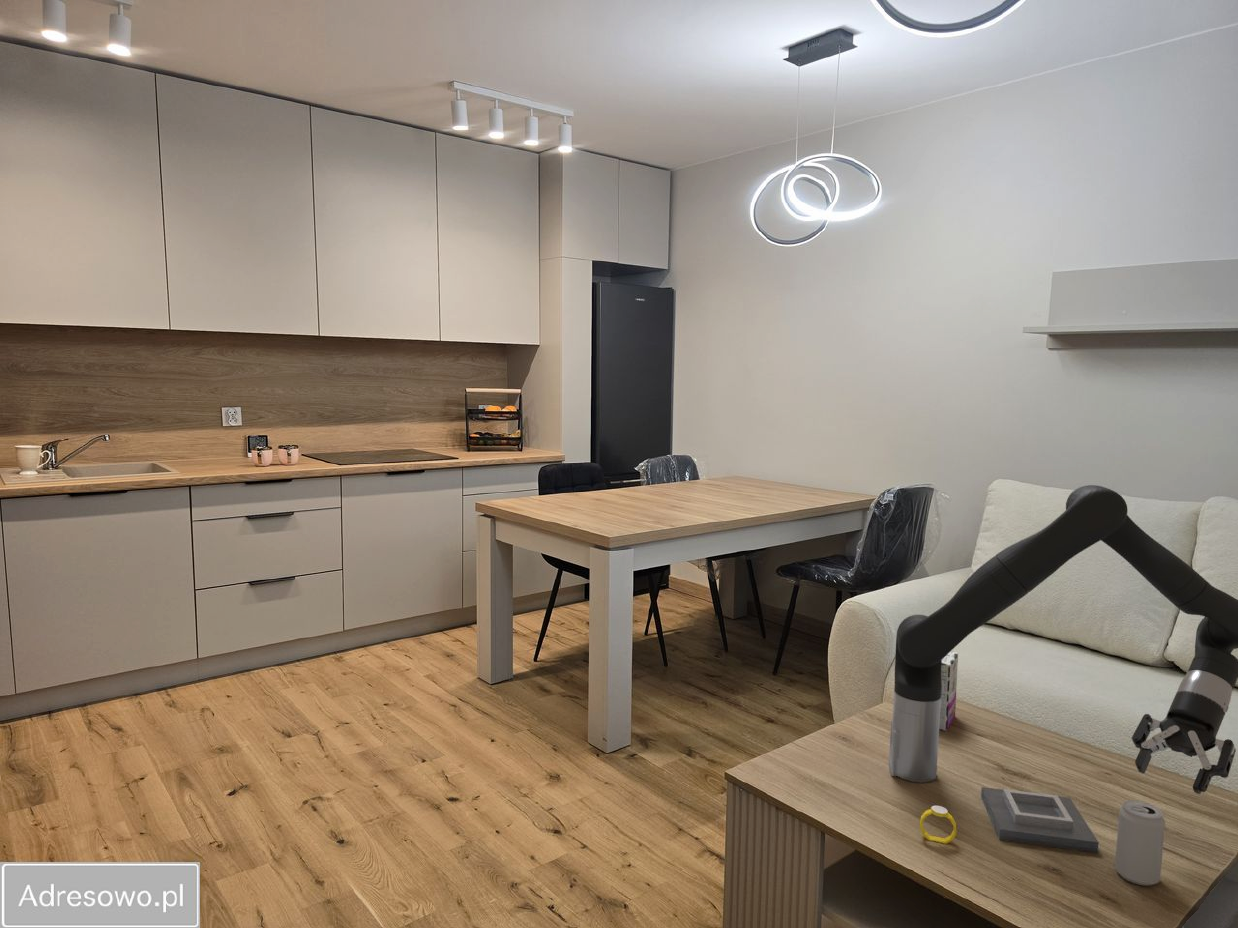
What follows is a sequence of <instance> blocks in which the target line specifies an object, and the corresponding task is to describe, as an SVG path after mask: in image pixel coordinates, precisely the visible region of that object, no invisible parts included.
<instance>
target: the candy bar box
mask: <svg viewBox="0 0 1238 928" xmlns="http://www.w3.org/2000/svg"><path fill="white" fill-rule="evenodd" d="M958 660H959V652H957V651H953V650H951V651H950V652H949V653H948V654H947V655H946V656H945V657H944V658H943V659H942V665H941V679H942V692H941V708H940V724H939V731H945V732H947V731H948V730H949V728H950V726H951V724H952V722H953V721H954V718H955V716H956V708H957V707H956V706H957V705H956V703H957V688H958V687H957V682H958V663H959V661H958Z"/></svg>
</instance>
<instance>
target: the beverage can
mask: <svg viewBox="0 0 1238 928" xmlns="http://www.w3.org/2000/svg"><path fill="white" fill-rule="evenodd" d="M1163 816H1164V814H1163V811H1162V810H1161V809H1159V808H1158V807H1157V806H1154V805H1153V804H1150V803H1147V802H1143V801H1141V800H1140V801H1138V800H1124V801H1123V802H1122V806H1121V807H1120V809H1119V811H1118V820H1117V821H1118V824H1117V836H1116V837H1117V838H1116V847H1115V848H1116V850H1115V863H1114V867H1115V871H1116V872H1118V874H1119V875H1120V877H1122V878H1123V879H1124V880H1126V881H1127V882H1131V883H1132V884H1136V885H1139V886H1143V887H1145V886H1146V887H1147V886H1148V887H1150V886H1153V885H1156V884H1159V883H1160V881H1161V877H1162V876H1161V874H1162V864H1163V863H1162V860H1163V851H1164V841H1165V839H1164V837H1165V826H1166V821H1165V819H1164V817H1163Z"/></svg>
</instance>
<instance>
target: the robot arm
mask: <svg viewBox="0 0 1238 928" xmlns="http://www.w3.org/2000/svg"><path fill="white" fill-rule="evenodd" d="M1128 509H1129V508H1128V505H1127V502H1126V500H1125V499H1124V498H1123V496H1122V495H1121V494H1119V493H1118V492H1117V491H1115V490H1113V489H1111V488H1108V487H1104V486H1101V485H1096V484H1095V485H1093V484H1091V485H1090V484H1089V485H1083V486H1079V487H1078V488H1076V489H1074V490H1073V491H1071V493H1070V494H1069V495H1068V497H1067V499H1066V502H1065V510H1064V511H1063V512H1062V513H1061V514H1060V515H1059V516H1057V518H1056V519H1054V520H1053V521H1052V522H1051V523H1049V524H1048V525H1047V526H1045V527H1044V528H1042V529H1041V530H1039V531H1037V532H1035V533H1034V534H1032V535H1030V536H1028V537H1026V538H1022V539H1021V540H1019V541H1017V542H1015V543H1013V544H1011V545H1009V546H1007V547H1006V548H1004V549H1002V550H1001V551H1000V552H998V553H996V554H995V555H994V556H992V557H991V558H990V559H988V560H987V561H986V562H985V563H983V564H982V565H981V566H979V567H978V568H977V569H976V570H975V571H974V572H972V573H971V575H970V576H969V577H968V578H967V580H965V582H964V583H963V584H962V585H961V586H960V588H959V589H958V590H957V591H956V592H955V594H954V595H953V596H952V597H951V598H950V599H949V600H948V601H947V602H946V603H945V604H944V605H943V606H941V607H940V608H939V609H937V610H936V611H934V612H933V613H931V614H929V616H928V615H924V614H912V615H909V616H907V617H905V618H904V619H903V620H902V621H901V623H899V625H898V627H897V630H896V636H895V637H896V639H895V657H894V658H895V659H894V686H893V687H894V689H893V690H894V691H893V705H892V706H893V707H892V708H893V710H892V721H890V737H889V756H888V766H889V770H890V775H891V777H896V776H898V777H897V778H899V777H900V779H902V780H905V781H908V782H913V783H930V782H933V781H934V780H936V778H937V771H938V757H939V738H940V736H939V735H940V730H939V724H940V708H941V692H942V679H941V665H942V659H943V658H944V657H945V656H946V655H947V654H948V653H949V652H950V651H953V650H954V649H955V648H956V647H957V646H958V645H959V644H960V643H961V642H962V641H963V640H965V639H967V637H968V636H969V635H971V633H973V632H975V631H976V630H977V629H979V628H981V627H982V626H983V625H985V624H986V623H988V622H990V621H991V620H992V619H994V618H995V617H997V616H998V615H999V614H1001V613H1002V612H1003V611H1005V610H1006V609H1008V608H1009V607H1010V606H1013V604H1015V603H1018V601H1019V600H1021V599H1022V598H1023V597H1025V596H1026V595H1027V594H1029V593H1030V592H1032V591H1033V590H1034V589H1035V588H1037V587H1038V586H1039V585H1040V584H1042V583H1043V582H1044V581H1046V579H1048V578H1049V577H1051V576H1052V575H1053V574H1055V573H1056V572H1057V570H1059V569H1060V568H1061V567H1062V566H1063V565H1065V564H1066V563H1067V562H1068V561H1070V560H1071V559H1072V558H1074V557H1076V556H1077V555H1078V554H1080V553H1082V552H1083V551H1085V550H1086V549H1088V548H1090V547H1091V546H1093V545H1096V544H1097V543H1099V542H1100V541H1101V542H1103V543H1104V544H1105V545H1107V546H1108V547H1109V548H1111V549H1112V550H1113V551H1115V552H1116V553H1117V554H1118V555H1119V556H1121V557H1122V558H1123V559H1124V560H1125V561H1126V562H1128V564H1130V565H1131V566H1132V567H1133V568H1134V569H1135V570H1136V571H1137V572H1138V573H1139V574H1140V575H1141V576H1142V577H1144V579H1146V580H1147V582H1149V583H1150V584H1151V586H1153V587H1154V588H1155V590H1157V591H1158V592H1159V593H1160V594H1161V595H1163V596H1164V597H1165V598H1166V599H1167V600H1168V601H1169V602H1170V603H1172V604H1173V606H1175V607H1176V608H1177V609H1178V610H1180V611H1181V612H1182V613H1184V614H1187V615H1191V616H1201V617H1203V618H1202V619H1201V620H1200V622H1199V623H1198V626H1197V628H1196V632H1195V643H1194V656H1193V658H1192V660H1191V663H1190V665H1189V668H1188V669H1187V672H1186V674H1185V676H1184V677H1183V678H1182V680H1181V681H1180V684H1179V686H1178V688H1177V691H1176V692H1175V695H1174V698H1173V699H1172V702H1171V705H1170V707H1169V710H1168V711H1167V714H1166V716H1165V718H1164V719H1163V720H1159V719H1156V718H1152V716H1151V715H1150V714H1149V713H1145V714H1144V715H1143V716H1142V717H1141V719H1140V722H1139V723H1138V725H1137V727H1136V729H1135V731H1134V732H1133V735H1132V736H1131V740H1132V742H1133V744H1134V747H1135V748H1137V749H1139V752H1138V754H1137V756H1136V758H1135V761H1134V764H1135V766H1136V769H1137V770H1138V772H1139V773H1140V774H1145V773H1146V771H1147V769H1148V766H1149V764H1150V761H1152V755H1154V754H1155V753H1158V752H1164V751H1166V750H1168V749H1171V751H1173V752H1176V753H1182V754H1184V755H1186V756H1188V757H1191V758H1193V757H1196V756H1197V757H1198V759H1199V762H1200V764H1201V766H1202V768H1201V767H1200V768H1199V770H1198V772H1197V774H1196V778H1195V779H1194V782H1193V784H1192V790H1193V792H1194V793H1195V794H1198V795H1201V794H1202V793H1205V792H1206V791H1207V789H1208V787H1209V785H1210V782H1211V780H1212V778H1213V777H1221V778H1223V779H1226V778H1228V777H1229V775H1230V771H1231V768H1232V764H1233V763H1234V762H1233V760H1234V758H1235V754H1236V751H1237V749H1236V747H1235V744H1234V741H1233V740H1231V739H1229V738H1228V739H1225V740H1223V739H1219V738H1216V737H1217V736H1218V732H1219V730H1220V727H1221V725H1222V723H1223V720H1224V718H1225V716H1226V713H1228V710H1229V705H1230V703H1231V699H1232V694H1233V690H1234V688H1235V686H1236V683H1237V681H1238V658H1237V657H1236V656H1235V655H1233V654H1232V652H1233V651H1234V650H1237V649H1238V599H1237V598H1236V597H1233V596H1231V594H1228V593H1227V592H1225V591H1223V590H1220V589H1218V588H1216V587H1214V586H1213V585H1212V584H1211V583H1210V582H1209V581H1207V580H1206V579H1205V578H1204V577H1203V576H1202V575H1200V573H1198V572H1197V571H1196V570H1195V569H1193V567H1191V566H1190V565H1189V564H1187V563H1186V562H1185V561H1184V560H1183V559H1181V558H1180V557H1179V556H1178V555H1176V554H1175V553H1173V552H1172V551H1170V550H1169V549H1168V548H1166V547H1165V546H1163V545H1162V544H1161V543H1160V542H1158V541H1156V539H1154V538H1153V537H1151V536H1150V535H1149V534H1147V533H1146V531H1144V530H1143V529H1142V528H1141V527H1139V526H1138V524H1136V523H1135V521H1133V520H1132V518H1130V517H1129V515H1128ZM1157 729H1160V732H1159V733H1156V734H1154V735H1153V736H1152V737H1151V738H1150V739H1148V738H1149V735H1150V734H1151V732H1154V731H1155V730H1157ZM1147 739H1148V740H1147ZM1215 747H1217V750H1218V752H1219V753H1220V754H1219V756H1218V757H1219V758H1218V761H1217V764H1211V762H1210V760H1209V758H1208V755H1207V753H1206V752H1207V751H1209V750H1212V749H1213V748H1215Z"/></svg>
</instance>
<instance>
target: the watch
mask: <svg viewBox="0 0 1238 928" xmlns="http://www.w3.org/2000/svg"><path fill="white" fill-rule="evenodd" d="M930 815H934V816H936V817H938V818H939V817H940V818H947V819H948V820H949V821H950V822H951V824H952V826H953V829H952V832H951V834H950V835H948V836H947V837H939V836H934V835H930V834H929V833H928V832H927V831H926V830H925V827H924V823H923V822H924V821H925V819H926V818H927V817H928V816H930ZM919 821H920V822H919V829H920V831H921V834H922V835H923V837H924V838H926V839H927V840H928V841H930V842H937V843H940V844H944V845H947V844H949V843H950V842H952V841H953V840H954V839H955V837H956V835H957V824H956V821H955V819H954V817H953V816H952V814H950V813H949V811H948V809H947V808H946V807H943V806H941V805H933V806H931V807H930V809H927V810H925V811H924V812H923V813H922V814H921V816H920V820H919Z"/></svg>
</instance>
